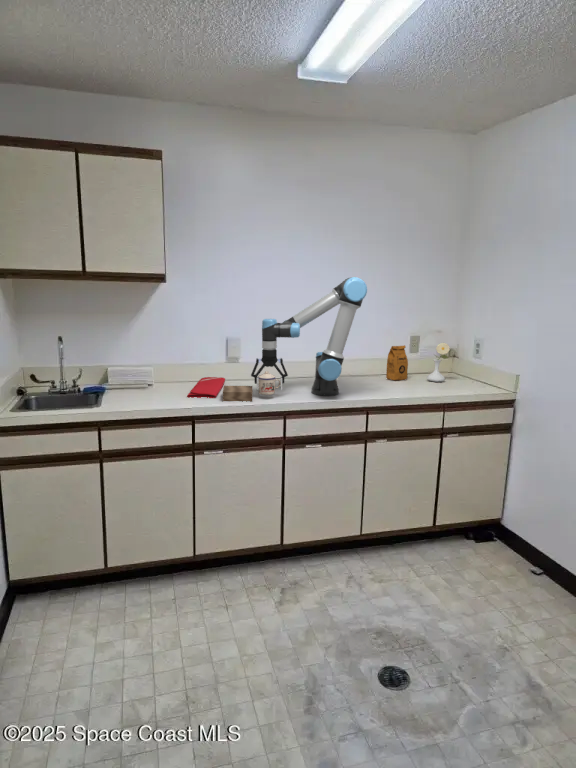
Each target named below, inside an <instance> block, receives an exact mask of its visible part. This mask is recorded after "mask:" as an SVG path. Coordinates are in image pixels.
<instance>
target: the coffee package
mask: <svg viewBox="0 0 576 768" xmlns="http://www.w3.org/2000/svg"><path fill="white" fill-rule="evenodd" d="M405 349H406V345H392V346H391V347H390V349H389V352H388V354H387V359H386V360H387V361H386V372H385V373H386V375H385V376H386V377H385V379H386V378H387V379H386V380H390V379H391V380H390V381H403V380H404V381H406V380H407V378H408V366H409V360H408V356H407V354H406V353H407V352H406V350H405ZM405 379H406V380H405Z"/></svg>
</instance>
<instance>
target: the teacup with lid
mask: <svg viewBox="0 0 576 768" xmlns="http://www.w3.org/2000/svg"><path fill="white" fill-rule="evenodd" d="M257 377H258V394H259V395H261V396H262V395H263V396H271V395H274V394H275V393H276V389H280V386H281V379H278V378H276V376H275V375H273V374H272V373H270V372H269V371H268V370H266V371H264V373H261V374H259V375H258V376H257ZM276 381H278V385H277V386H276Z"/></svg>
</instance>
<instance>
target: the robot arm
mask: <svg viewBox="0 0 576 768" xmlns="http://www.w3.org/2000/svg"><path fill="white" fill-rule="evenodd" d="M367 294H368V286H367V284H366V282H365V281H364V280H363V279H361V278H360V277H356V276H354V277H348V278H347V277H346V279H345V280H343V281H342V282H340V283H339V284H338V285H337V286H335V287H334V288H332V291H331V292H329V293H328V294H326V295H324V296H322V297H321V298H320V299H318V300H317V301H315V302H313V303H312V304H311V305H309V306H307V307H305V308H304V309H302V310H301V311H299V312H298V313H296V314H294V315H293V316H291V317H289V318H288V319H285V320H283V322H278V321H277V319H276V318H264V319H263V320H262V322H261V326H262V327H261V340H262V342H261V348H262V351H261V356H262V357H261V358H258V357H257V358H256V359H255V364H254V366H253V369H252V372H251V374H250V377H252V378H254V384H256V391H259V378H258V376H260V375H261V372H262V371H263V369H265V368H269V367H270V368H273V367H274V368H275V369H276V371H277V372H278V374H279V375H280V382H281V384H280V387H279V389H280V391H283V384H285V378H287V377H288V376H289V374H288V372H287V370H286V368H285V365H284V360H283V359H284V358H282V357H280V358H277V356H278V355H277V351H278V350H277V347H278V345H277V341H278V339H277V338H287V339H288V338H292V339H294V338H299V337H300V336H301V328H303V327H304V326H306V325H307V324H308V325H309V323H310V322H313V321H315V320H316V319H317V318H319V317H321V316H322V315H324V314H325V313H327V312H329V311H330V310H332V309H333V308H335V307H336V306H338V305H339V309H338V312H337V315H336V318H335V321H334V324H333V327H332V331H331V334H330V338H329V341H328V344H327V347H326V349H324V350H323V351H317V352H316V355H315V374H314V375H315V376H314V381H313V385H312V386H311V394H313V395H316V396H323V397H324V396H325V397H326V396H327V397H329V396H337V395H339V394H340V389H339V385H338V381H337V379H338V378H340V376H341V374H342V369H343V368H342V365H343V362H344V359H345V356H344V355H343V353H344V351H345V347H346V343H347V342H348V341H347V340H348V337H349V335H350V331H351V328H352V325H353V321H354V320H355V316H356V312H357V310H358V309H359V308H361V306H362V303H363V300H364V299H365V298H366V296H367ZM277 362H278V363H279V364H280V365H281V367H282V371H283V372H284V373H283V372H282V371H281V369H280V368H279V367H278V365H277ZM260 363H262V364H261V366H260V368H259V369H258V370H257V368H258V366H259V364H260ZM256 370H257V371H256Z"/></svg>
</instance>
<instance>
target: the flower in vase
mask: <svg viewBox="0 0 576 768" xmlns="http://www.w3.org/2000/svg"><path fill="white" fill-rule="evenodd" d="M450 349H451V347H450V346H449V344H448V343H445V342H441V343H439V344H438V345H437V346H436V348H435V350H436V352H437V353H438V354H440V356H438V355H436V354H434V356H435V357H436V358H437V359H436V358H433V360H432V361H434V370H433V372H431V373H430V374H428V375H427V376H426V380H428V381H431V382H436V383H440V382H444V381H445V380H446V378H445V376H444V375H442V373H441V372H440V370H439V367H440V363H441V361H442V359H443V360H445V359H449V357H448V356H447V354H448V353H449V351H450ZM441 357H442V359H441Z"/></svg>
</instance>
